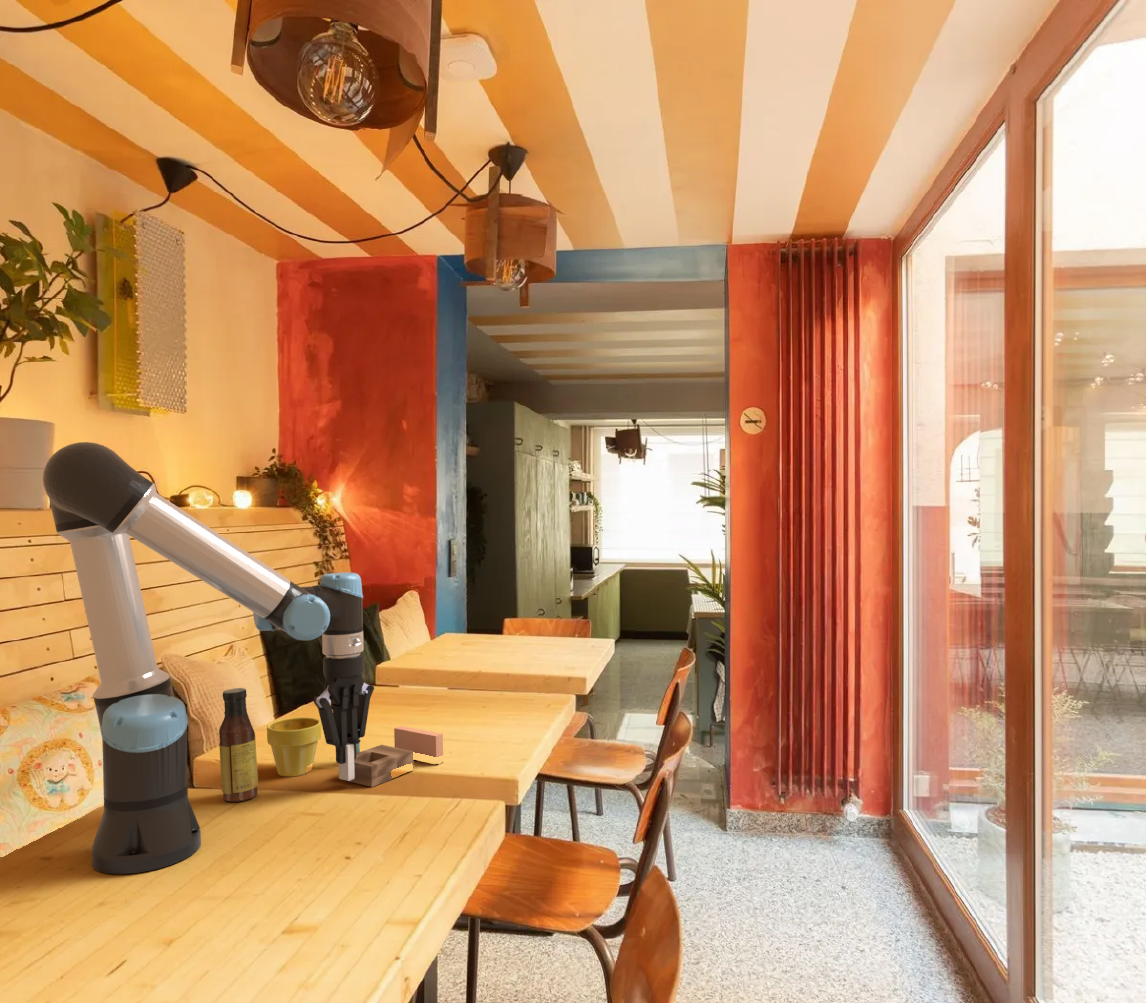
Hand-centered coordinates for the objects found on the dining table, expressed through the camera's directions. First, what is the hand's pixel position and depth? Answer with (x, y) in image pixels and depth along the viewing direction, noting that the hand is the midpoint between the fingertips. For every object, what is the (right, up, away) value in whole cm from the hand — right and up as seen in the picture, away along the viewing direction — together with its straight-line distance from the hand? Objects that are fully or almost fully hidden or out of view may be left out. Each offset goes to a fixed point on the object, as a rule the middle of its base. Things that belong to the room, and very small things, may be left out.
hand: (346, 778), depth 158 cm
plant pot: (-13, -2, +10) cm, 17 cm away
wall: (+11, -1, +16) cm, 19 cm away
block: (+4, -2, +6) cm, 8 cm away
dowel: (-3, -2, +14) cm, 15 cm away
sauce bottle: (-19, -2, -4) cm, 19 cm away
